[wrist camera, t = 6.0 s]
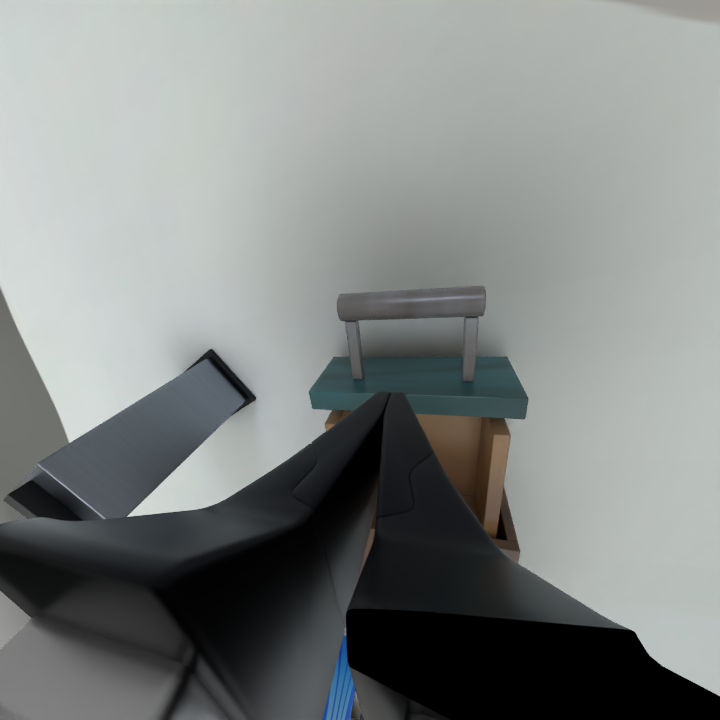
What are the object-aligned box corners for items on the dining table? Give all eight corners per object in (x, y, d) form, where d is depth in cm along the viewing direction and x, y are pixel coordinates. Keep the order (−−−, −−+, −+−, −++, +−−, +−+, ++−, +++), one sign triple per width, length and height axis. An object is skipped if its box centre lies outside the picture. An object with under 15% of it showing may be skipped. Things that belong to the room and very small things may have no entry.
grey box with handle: (256, 398, 24) (107, 549, 13) (220, 421, 27) (68, 567, 16) (211, 348, 23) (5, 469, 12) (178, 377, 26) (-21, 501, 14)
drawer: (322, 285, 18) (289, 304, 14) (517, 272, 15) (546, 291, 11) (353, 479, 25) (338, 529, 21) (490, 494, 22) (502, 556, 18)
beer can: (337, 650, 43) (290, 857, 29) (295, 619, 42) (225, 821, 28) (376, 643, 39) (343, 878, 25) (331, 609, 38) (271, 837, 24)
